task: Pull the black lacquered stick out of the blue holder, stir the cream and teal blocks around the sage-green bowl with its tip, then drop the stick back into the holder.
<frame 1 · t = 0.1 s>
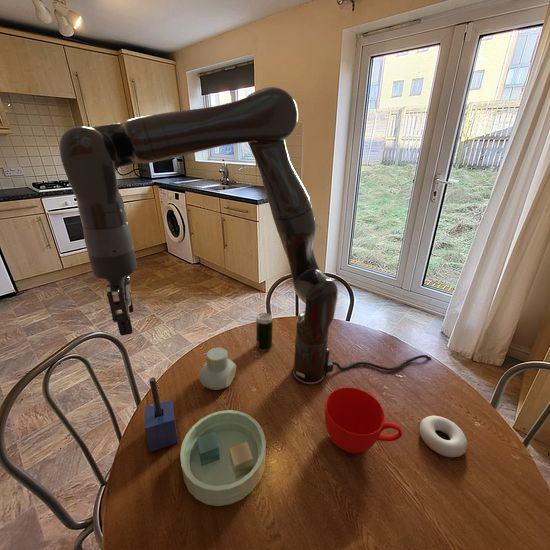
hand: (127, 322, 60), 29 cm above the table, tool pointing down, fingers open, 8 cm apart
cream block: (241, 465, 63), point 1 cm above the table, touching bowl
donut: (440, 440, 70), on the table
holder: (163, 437, 69), on the table
teal block: (208, 454, 65), point 1 cm above the table, touching bowl
stick: (158, 410, 65), in the holder
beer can: (264, 346, 100), on the table
ceramic cup: (357, 442, 69), on the table
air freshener: (218, 381, 85), on the table
bowl: (225, 461, 64), on the table
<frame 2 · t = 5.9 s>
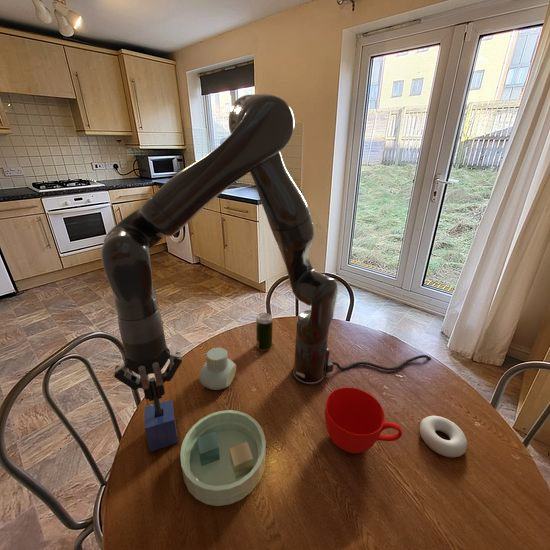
hand: (155, 396, 63), 13 cm above the table, tool pointing down, fingers closed on stick, 1 cm apart
stick: (158, 410, 65), in the holder, touching gripper
everything else where it was.
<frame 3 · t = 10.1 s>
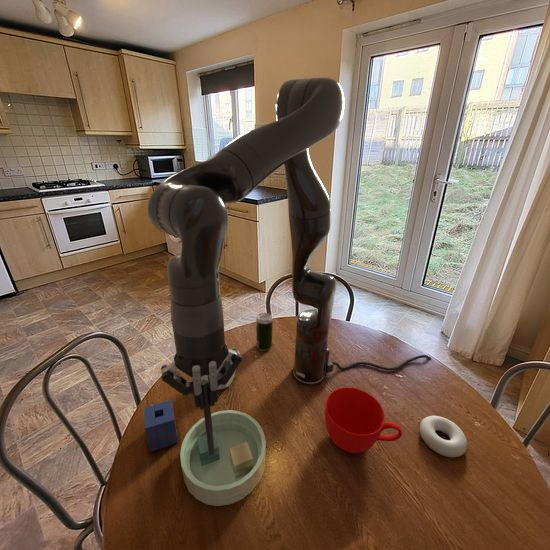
hand: (206, 403, 51), 22 cm above the table, tool pointing down, fingers closed on stick, 1 cm apart
stick: (208, 420, 53), point 18 cm above the table, touching gripper
everything else where it was.
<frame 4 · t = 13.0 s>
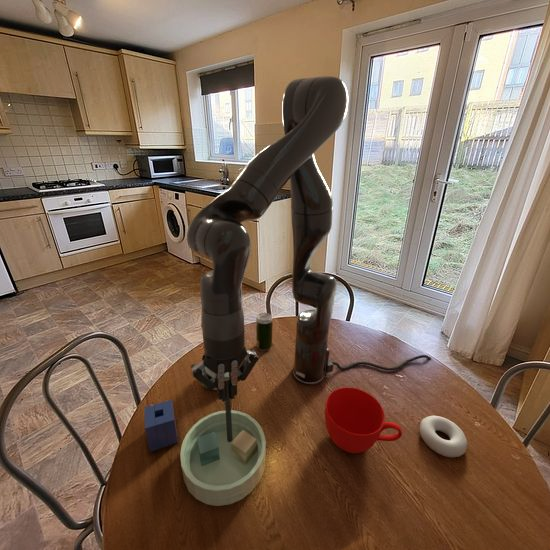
hand: (227, 396, 60), 16 cm above the table, tool pointing down, fingers closed on stick, 1 cm apart
cream block: (244, 452, 65), point 1 cm above the table, touching bowl
stick: (228, 411, 62), in the bowl, point 12 cm above the table, touching gripper
everything else where it was.
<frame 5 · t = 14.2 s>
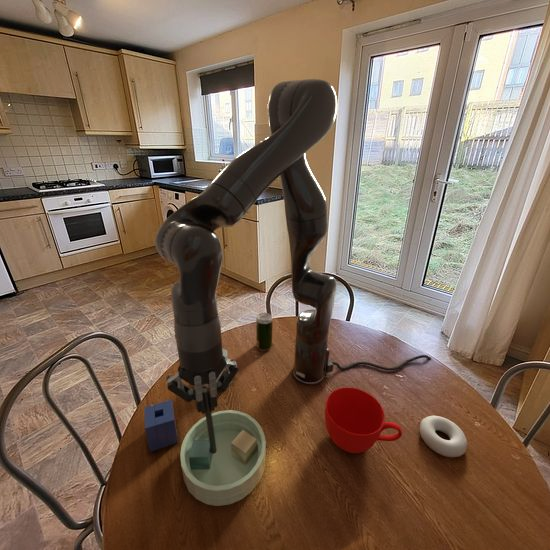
hand: (207, 408, 57), 16 cm above the table, tool pointing down, fingers closed on stick, 1 cm apart
teal block: (202, 460, 63), point 1 cm above the table, touching bowl, stick
stick: (209, 422, 59), in the bowl, point 12 cm above the table, touching gripper, teal block
everything else where it was.
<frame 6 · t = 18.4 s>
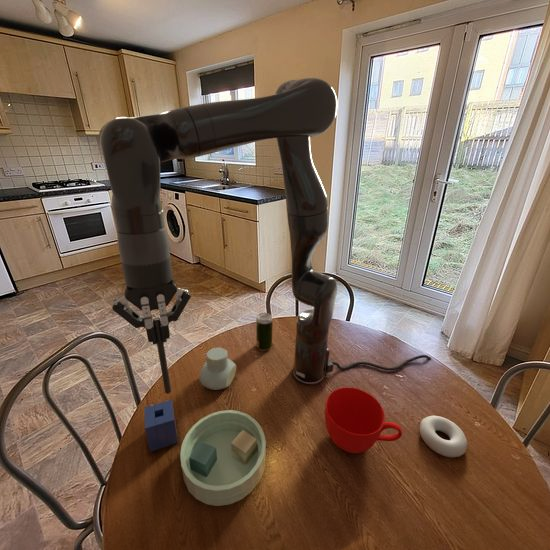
hand: (159, 340, 55), 29 cm above the table, tool pointing down, fingers closed on stick, 1 cm apart
teal block: (204, 464, 63), point 1 cm above the table, touching bowl
stick: (162, 357, 57), point 25 cm above the table, touching gripper
everything else where it was.
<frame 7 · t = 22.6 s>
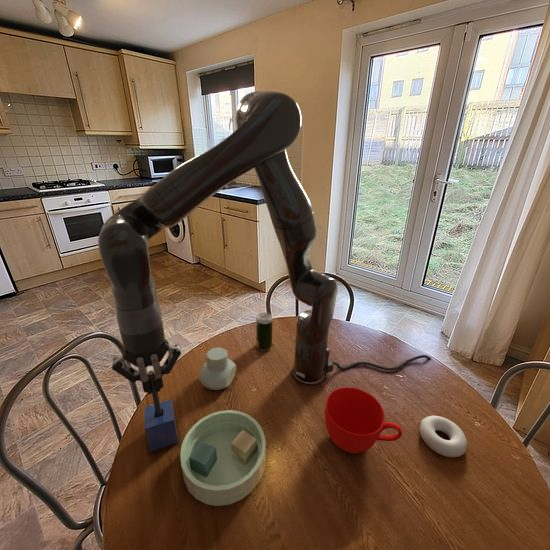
hand: (154, 389, 62), 15 cm above the table, tool pointing down, fingers closed on stick, 1 cm apart
stick: (156, 403, 64), in the holder, point 11 cm above the table, touching gripper
everything else where it was.
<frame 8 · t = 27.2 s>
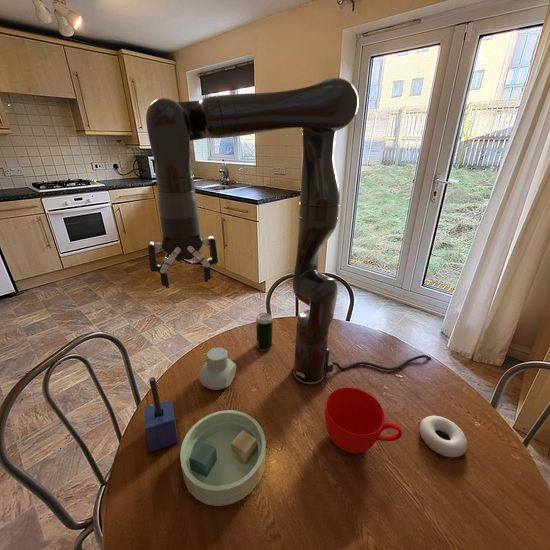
hand: (187, 283, 67), 34 cm above the table, tool pointing down, fingers open, 8 cm apart
stick: (158, 409, 65), in the holder
everything else where it was.
at the end: cream block moved 2.8 cm from its start; teal block inside the target area in the bowl (4.4 cm from its centre), point 0.6 cm above the bowl's base; stick 0.1 cm off-centre on the holder, point 9.0 cm above the holder's base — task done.
